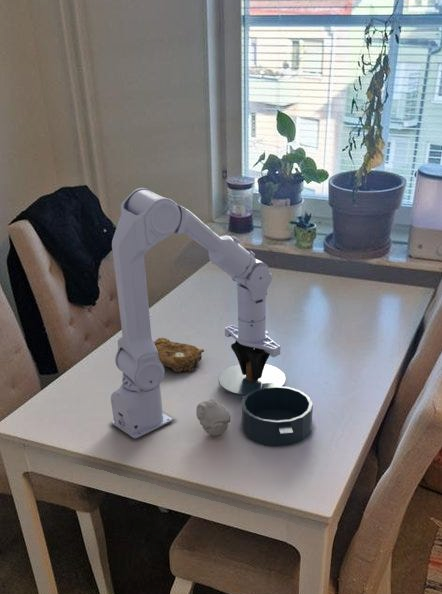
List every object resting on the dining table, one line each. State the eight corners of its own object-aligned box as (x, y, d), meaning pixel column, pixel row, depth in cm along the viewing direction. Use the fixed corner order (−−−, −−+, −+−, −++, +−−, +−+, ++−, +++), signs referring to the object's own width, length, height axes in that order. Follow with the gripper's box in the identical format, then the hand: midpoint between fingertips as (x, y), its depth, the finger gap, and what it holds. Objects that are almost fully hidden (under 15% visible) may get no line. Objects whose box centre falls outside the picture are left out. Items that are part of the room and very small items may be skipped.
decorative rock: (130, 365, 156) (185, 381, 150) (128, 350, 154) (184, 366, 148) (157, 343, 164) (210, 358, 158) (155, 328, 161) (210, 342, 155)
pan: (299, 400, 140) (300, 376, 137) (321, 451, 125) (323, 426, 122) (235, 405, 139) (235, 382, 136) (250, 458, 123) (250, 433, 120)
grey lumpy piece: (209, 420, 134) (207, 390, 131) (238, 431, 131) (237, 400, 127) (190, 435, 130) (188, 404, 127) (220, 446, 127) (219, 414, 123)
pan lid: (278, 364, 152) (278, 346, 149) (291, 396, 140) (292, 376, 137) (215, 369, 150) (214, 351, 148) (223, 402, 139) (222, 382, 136)
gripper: (291, 321, 134) (289, 380, 142) (241, 301, 143) (242, 358, 151) (266, 331, 130) (266, 392, 138) (216, 311, 140) (218, 369, 147)
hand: (252, 375), depth 144 cm, fingers closed on pan lid, 2 cm apart
